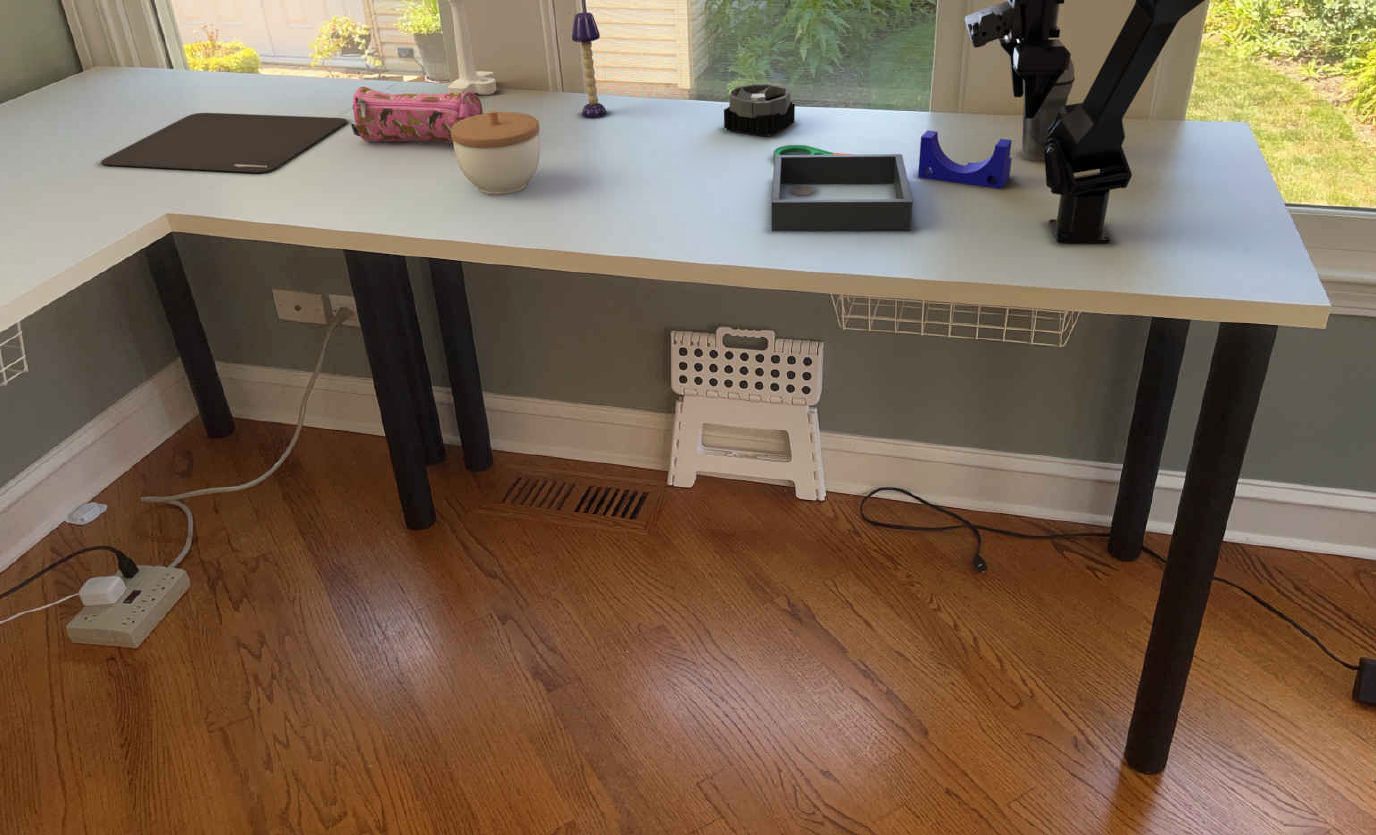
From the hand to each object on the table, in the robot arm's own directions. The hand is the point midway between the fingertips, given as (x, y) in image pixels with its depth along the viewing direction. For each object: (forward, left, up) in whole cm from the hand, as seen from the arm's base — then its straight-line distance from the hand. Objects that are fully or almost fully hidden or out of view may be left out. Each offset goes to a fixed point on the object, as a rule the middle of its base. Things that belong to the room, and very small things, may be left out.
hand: (1023, 107), depth 146 cm
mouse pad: (+25, +125, -12) cm, 128 cm away
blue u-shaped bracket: (+6, +6, -12) cm, 15 cm away
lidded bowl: (+4, +73, -12) cm, 74 cm away
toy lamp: (+38, +65, -12) cm, 76 cm away
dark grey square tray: (-4, +24, -12) cm, 27 cm away
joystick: (+52, +89, -12) cm, 104 cm away
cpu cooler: (+30, +36, -12) cm, 48 cm away
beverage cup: (+15, -6, -12) cm, 20 cm away
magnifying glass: (+13, +26, -12) cm, 31 cm away
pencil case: (+24, +91, -12) cm, 95 cm away
